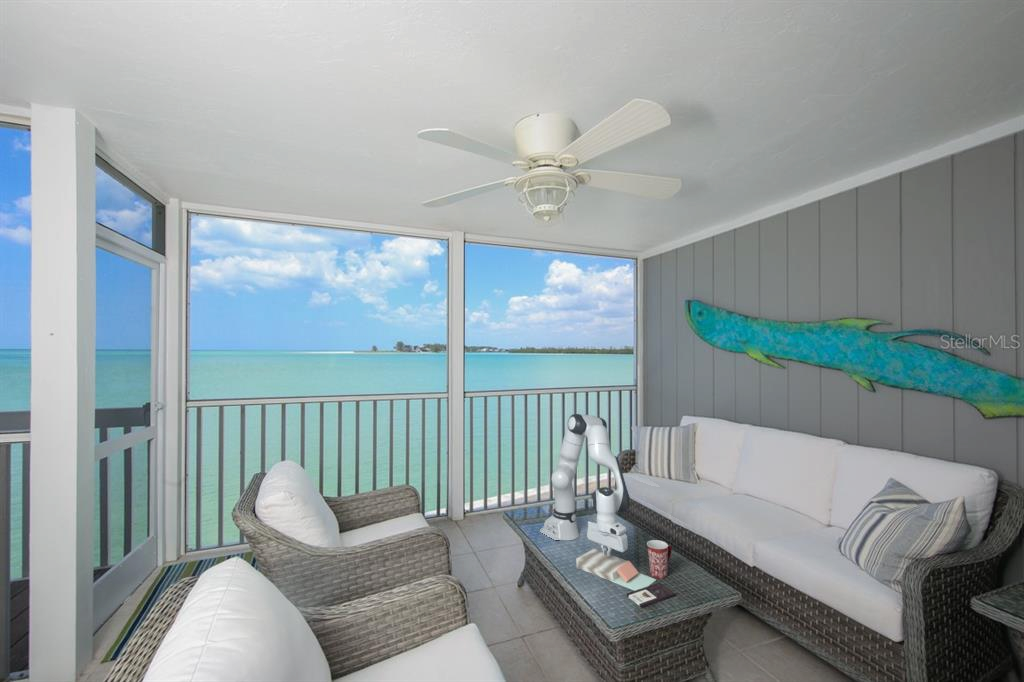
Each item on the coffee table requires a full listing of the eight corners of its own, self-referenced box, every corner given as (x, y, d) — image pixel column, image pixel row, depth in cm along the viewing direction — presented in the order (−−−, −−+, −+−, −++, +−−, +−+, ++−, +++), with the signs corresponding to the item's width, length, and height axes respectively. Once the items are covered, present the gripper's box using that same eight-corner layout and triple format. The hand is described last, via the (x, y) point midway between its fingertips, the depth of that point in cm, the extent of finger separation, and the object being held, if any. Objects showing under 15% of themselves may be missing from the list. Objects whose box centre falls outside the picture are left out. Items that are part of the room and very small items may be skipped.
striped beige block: (576, 567, 205) (576, 558, 206) (593, 556, 215) (593, 548, 215) (613, 582, 191) (612, 573, 191) (629, 570, 201) (629, 561, 201)
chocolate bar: (675, 593, 179) (641, 605, 171) (675, 595, 179) (641, 608, 171) (659, 582, 187) (626, 593, 179) (659, 584, 187) (626, 595, 179)
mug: (658, 581, 191) (657, 550, 191) (643, 572, 199) (642, 542, 199) (679, 574, 196) (678, 543, 197) (664, 565, 204) (663, 536, 205)
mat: (611, 581, 192) (611, 580, 192) (628, 569, 202) (627, 568, 202) (640, 593, 182) (640, 592, 182) (656, 580, 192) (656, 579, 192)
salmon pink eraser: (616, 570, 193) (618, 567, 192) (626, 563, 200) (629, 560, 199) (625, 582, 190) (628, 580, 189) (636, 575, 196) (638, 572, 195)
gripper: (584, 520, 206) (584, 549, 206) (621, 533, 191) (621, 565, 191) (592, 516, 211) (592, 545, 210) (629, 529, 196) (629, 560, 195)
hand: (606, 554), depth 201 cm, fingers closed
